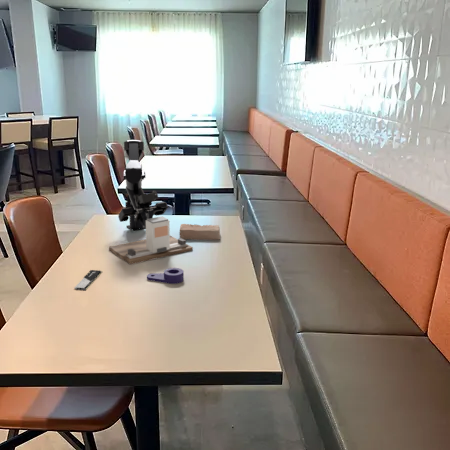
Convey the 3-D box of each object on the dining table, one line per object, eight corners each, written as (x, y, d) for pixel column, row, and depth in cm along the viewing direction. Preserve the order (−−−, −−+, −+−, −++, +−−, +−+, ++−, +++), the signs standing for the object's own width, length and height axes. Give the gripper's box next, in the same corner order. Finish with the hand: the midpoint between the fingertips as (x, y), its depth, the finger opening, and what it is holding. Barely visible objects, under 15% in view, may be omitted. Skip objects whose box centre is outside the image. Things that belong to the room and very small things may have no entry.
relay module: (146, 248, 174) (145, 218, 170) (162, 245, 178) (162, 216, 174) (153, 253, 170) (153, 222, 166) (170, 249, 174) (170, 219, 170)
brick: (219, 234, 200) (219, 223, 199) (220, 240, 192) (220, 229, 191) (180, 234, 199) (180, 223, 198) (179, 240, 191) (179, 229, 190)
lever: (185, 277, 156) (185, 268, 155) (181, 285, 150) (181, 275, 149) (149, 275, 157) (149, 266, 156) (144, 282, 151) (144, 273, 150)
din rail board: (108, 249, 178) (108, 240, 177) (168, 237, 193) (168, 229, 192) (130, 264, 164) (129, 254, 163) (192, 250, 179) (192, 241, 178)
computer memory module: (85, 288, 143) (72, 288, 144) (85, 291, 144) (73, 290, 144) (102, 270, 158) (91, 269, 158) (102, 273, 158) (91, 272, 158)
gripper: (120, 187, 170) (135, 224, 165) (165, 181, 181) (180, 215, 176) (112, 203, 178) (126, 239, 173) (155, 197, 189) (170, 230, 184)
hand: (151, 230), depth 176 cm, fingers closed
